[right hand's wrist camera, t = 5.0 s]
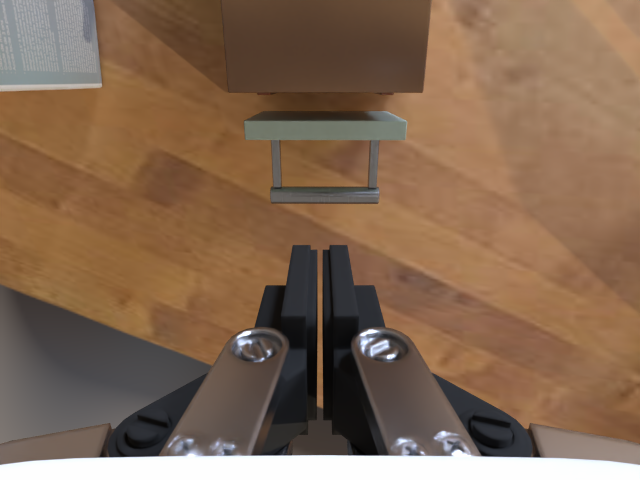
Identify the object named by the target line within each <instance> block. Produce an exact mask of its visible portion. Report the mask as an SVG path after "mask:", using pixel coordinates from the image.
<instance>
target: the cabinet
mask: <svg viewBox="0 0 640 480" xmlns="http://www.w3.org/2000/svg"><path fill="white" fill-rule="evenodd" d="M431 3H432V0H221V8H222V20H223V33H224V45H225V57H226V69H227V81H228V92H232V93H422V92H423V88H424V78H425V67H426V56H427V46H428V35H429V25H430V14H431Z"/></svg>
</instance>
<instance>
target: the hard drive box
mask: <svg viewBox="0 0 640 480" xmlns="http://www.w3.org/2000/svg"><path fill="white" fill-rule="evenodd" d="M101 87H102V79H101V69H100V60H99V49H98V40H97V30H96V21H95V12H94V4H93V0H0V91H26V90H61V89H84V88H101Z"/></svg>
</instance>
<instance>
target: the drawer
mask: <svg viewBox="0 0 640 480" xmlns="http://www.w3.org/2000/svg"><path fill="white" fill-rule="evenodd" d="M257 94H258V95H271V94H275V93H257ZM376 94H380V95H393V94H394V93H376ZM406 129H407V121H406V120H404V119H402V118H399V117H397V116H395V115H393V114H391V113H389V112H387V111H263V112H261V113H259V114H257V115H255V116H253V117H251V118H249V119H247V120H245V121H244V130H245V140H271V148H272V170H273V187H271V190H270V199H271V203H272V204H378V203H379V187H377V169H378V151H379V140H405V139H406ZM280 140H370V149H369V170H368V187H281V186H282V175H281V148H280Z"/></svg>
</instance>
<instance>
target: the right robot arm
mask: <svg viewBox="0 0 640 480" xmlns="http://www.w3.org/2000/svg"><path fill="white" fill-rule="evenodd" d="M316 419H317V250H311V249H310V245H293V247H292V253H291V259H290V265H289V271H288V277H287V283H286V285H267V286H266V287H265V290H264V294H263V298H262V301H261V305H260V309H259V312H258V316H257V320H256V324H255V327H254V328H249V329H246V330H243V331H240V332H238V333H237V334H235V335H234V336H232V337H231V338H230V339H229V340H228V342H227V343H226V344H225V346H224V348H223V349H222V351H221V353H220V354H219V356H218V358H217V359H216V361H215V363H214V364H213V366H212V368H211V369H210V371H209V372H208V373H207V374H205V375H203V376H201V377H199V378H197V379H196V380H194V381H192V382H190V383H188V384H186V385H185V386H183V387H181V388H179V389H177V390H175V391H174V392H172V393H170V394H168V395H166V396H164V397H163V398H161V399H159V400H157V401H155V402H153V403H151V404H150V405H148V406H146V407H144V408H142V409H141V410H139V411H137V412H135V413H133V414H132V415H130V416H129V417H128V418H126V419H125V420H123V421H122V422H121V423H120V424H119V425H118V427H116V429H111V425H110V423H108V424H102V425H96V426H91V427H85V428H80V429H74V430H69V431H63V432H57V433H52V434H46V435H41V436H35V437H30V438H24V439H18V440H13V441H9V442H5V443H2V444H0V480H640V444H638V443H635V442H631V441H627V440H622V439H616V438H611V437H605V436H600V435H594V434H588V433H583V432H577V431H572V430H566V429H560V428H555V427H549V426H544V425H538V424H533V423H530V425H529V429H524V427H523V426H522V425H521V424H520V423H519V422H518V421H517V420H515V419H514V418H512V417H511V416H510V415H508V414H507V413H505V412H503V411H501V410H500V409H498V408H496V407H494V406H492V405H490V404H489V403H487V402H485V401H483V400H481V399H479V398H478V397H476V396H474V395H472V394H470V393H468V392H467V391H465V390H463V389H461V388H459V387H457V386H456V385H454V384H452V383H450V382H448V381H446V380H444V379H443V378H441V377H439V376H437V375H435V374H433V373H432V372H431V371H430V369H429V368H428V366H427V364H426V363H425V361H424V359H423V358H422V356H421V354H420V353H419V351H418V349H417V348H416V346H415V344H414V343H413V342H412V340H411V339H410V338H409V337H408V336H406V335H405V334H403V333H402V332H400V331H397V330H394V329H391V328H386V327H385V324H384V320H383V316H382V312H381V309H380V305H379V301H378V298H377V294H376V290H375V287H374V286H373V285H354V283H353V277H352V271H351V265H350V259H349V253H348V247H347V245H330V249H329V250H323V420H332V434H333V435H342V436H344V437H345V438H346V439H347V449H348V456H323V455H322V456H321V455H316V456H292V449H293V439H294V438H295V437H296V436H298V435H308V420H316Z"/></svg>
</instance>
